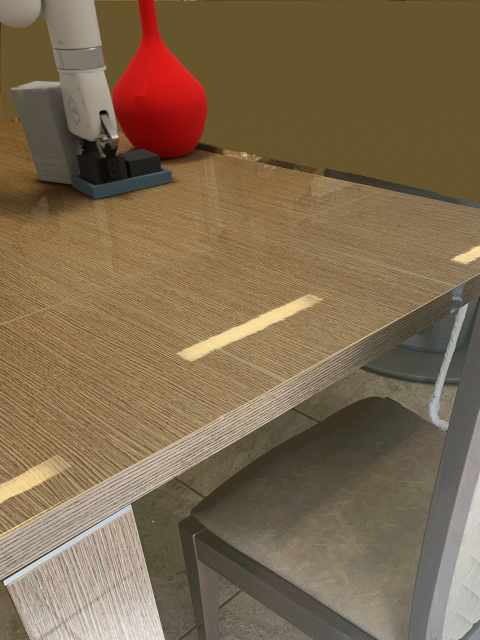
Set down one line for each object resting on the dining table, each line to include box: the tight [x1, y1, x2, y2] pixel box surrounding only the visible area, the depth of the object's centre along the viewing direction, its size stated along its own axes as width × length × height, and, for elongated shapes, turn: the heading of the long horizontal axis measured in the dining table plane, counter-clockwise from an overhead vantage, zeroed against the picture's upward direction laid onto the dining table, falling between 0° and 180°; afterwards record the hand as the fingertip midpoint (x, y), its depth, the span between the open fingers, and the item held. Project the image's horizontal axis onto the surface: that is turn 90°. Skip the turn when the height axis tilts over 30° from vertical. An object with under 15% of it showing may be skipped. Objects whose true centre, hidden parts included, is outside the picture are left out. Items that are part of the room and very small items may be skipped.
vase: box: [112, 0, 209, 159], centre depth 124 cm, size 18×18×30 cm
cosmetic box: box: [10, 80, 82, 185], centre depth 113 cm, size 8×7×16 cm
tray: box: [70, 165, 174, 200], centre depth 115 cm, size 15×9×2 cm, turn 131°
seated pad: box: [118, 149, 162, 178], centre depth 116 cm, size 6×6×4 cm
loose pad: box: [77, 151, 128, 186], centre depth 111 cm, size 6×6×4 cm
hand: (104, 175), depth 112 cm, fingers closed on loose pad, 6 cm apart
